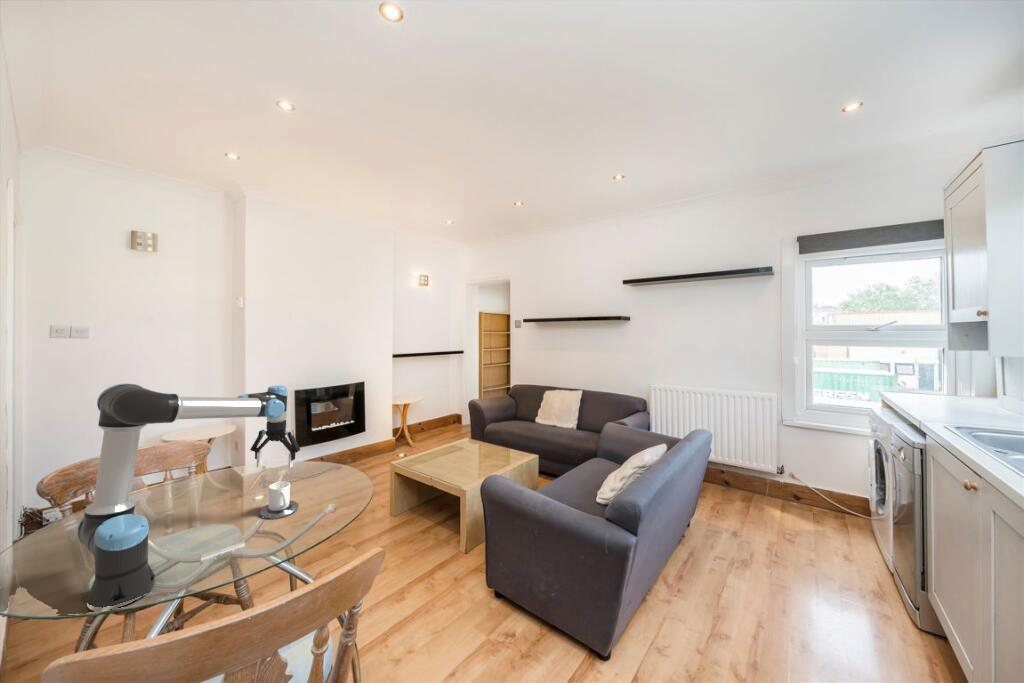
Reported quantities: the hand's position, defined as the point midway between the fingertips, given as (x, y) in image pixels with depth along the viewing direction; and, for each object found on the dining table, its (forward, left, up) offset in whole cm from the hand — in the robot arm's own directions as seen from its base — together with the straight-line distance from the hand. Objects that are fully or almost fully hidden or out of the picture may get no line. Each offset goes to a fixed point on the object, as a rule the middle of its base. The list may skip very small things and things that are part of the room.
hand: (274, 466), depth 170 cm
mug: (+1, -2, -20) cm, 20 cm away
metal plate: (+2, -2, -21) cm, 21 cm away
